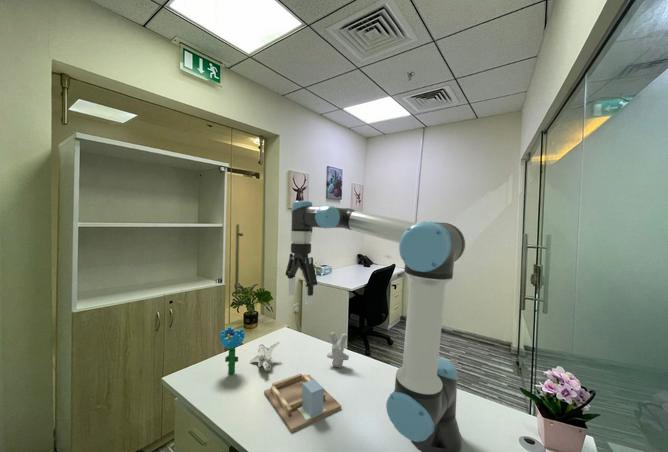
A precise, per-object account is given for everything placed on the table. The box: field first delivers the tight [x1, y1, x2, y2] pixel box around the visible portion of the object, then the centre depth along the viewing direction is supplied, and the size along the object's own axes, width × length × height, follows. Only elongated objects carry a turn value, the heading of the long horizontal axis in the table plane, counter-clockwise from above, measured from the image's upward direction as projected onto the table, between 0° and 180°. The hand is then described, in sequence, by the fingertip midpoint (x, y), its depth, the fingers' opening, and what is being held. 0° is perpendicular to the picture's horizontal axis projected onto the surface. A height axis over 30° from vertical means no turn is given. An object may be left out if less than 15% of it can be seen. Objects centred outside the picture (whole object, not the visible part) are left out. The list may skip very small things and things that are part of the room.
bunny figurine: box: [326, 331, 350, 369], centre depth 118 cm, size 10×5×15 cm, turn 78°
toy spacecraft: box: [249, 341, 280, 372], centre depth 115 cm, size 8×15×15 cm
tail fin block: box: [302, 378, 325, 417], centre depth 89 cm, size 6×4×8 cm
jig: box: [263, 373, 342, 434], centre depth 95 cm, size 22×19×3 cm
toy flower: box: [219, 326, 245, 376], centre depth 111 cm, size 9×9×18 cm
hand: (299, 299), depth 100 cm, fingers open, 13 cm apart
